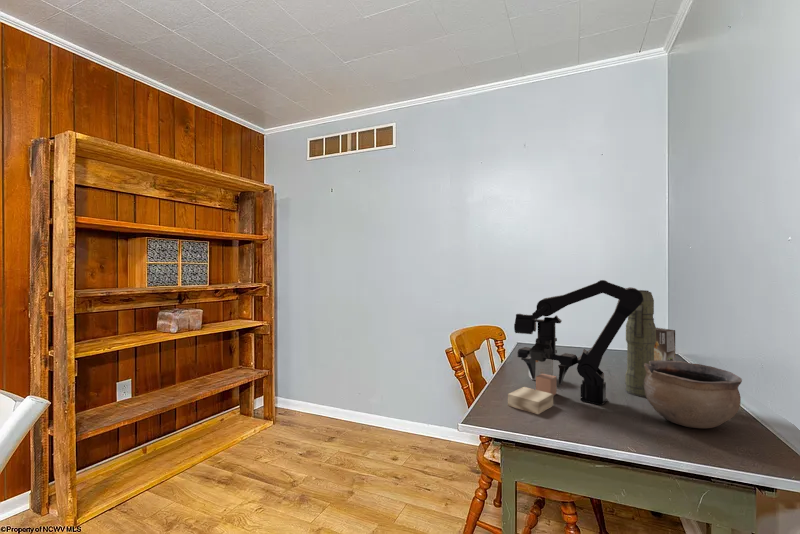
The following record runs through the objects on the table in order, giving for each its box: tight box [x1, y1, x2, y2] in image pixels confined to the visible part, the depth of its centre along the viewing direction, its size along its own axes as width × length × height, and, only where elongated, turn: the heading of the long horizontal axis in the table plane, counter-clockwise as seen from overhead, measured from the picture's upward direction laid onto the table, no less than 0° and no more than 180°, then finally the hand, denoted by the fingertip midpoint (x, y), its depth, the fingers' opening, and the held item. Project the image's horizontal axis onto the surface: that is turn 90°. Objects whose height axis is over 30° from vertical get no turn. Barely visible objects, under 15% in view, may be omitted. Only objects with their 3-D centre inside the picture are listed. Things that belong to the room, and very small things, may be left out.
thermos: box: [624, 289, 657, 398], centre depth 134 cm, size 9×12×35 cm
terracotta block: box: [535, 374, 557, 397], centre depth 133 cm, size 5×5×6 cm
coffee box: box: [654, 327, 676, 361], centre depth 168 cm, size 9×6×16 cm
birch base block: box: [507, 386, 554, 415], centre depth 122 cm, size 10×10×4 cm
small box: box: [528, 359, 554, 381], centre depth 151 cm, size 8×6×10 cm
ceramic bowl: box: [644, 360, 743, 429], centre depth 109 cm, size 22×22×15 cm
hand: (546, 381), depth 133 cm, fingers open, 9 cm apart
